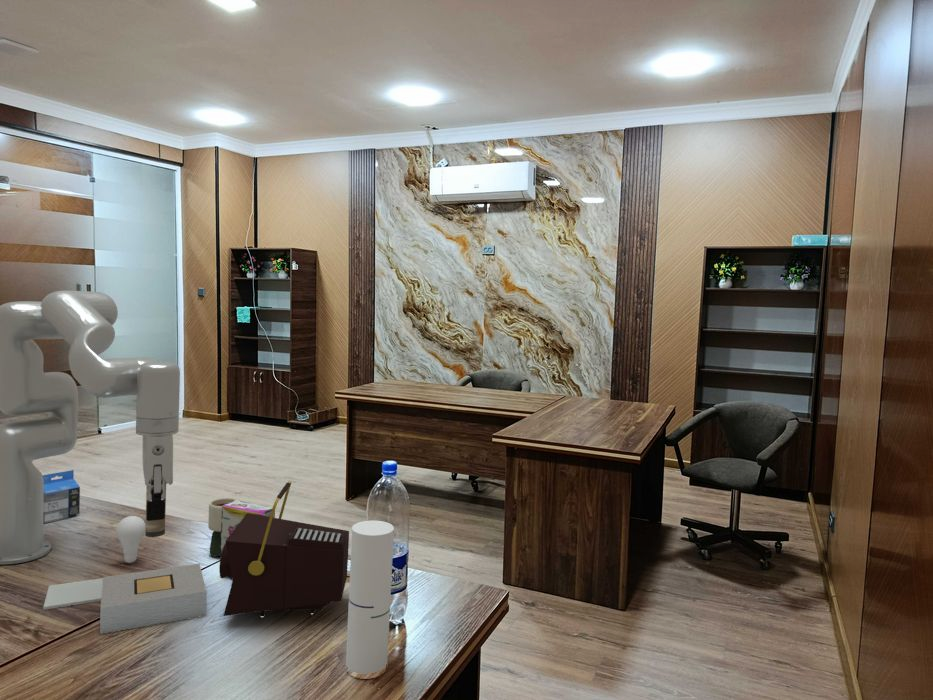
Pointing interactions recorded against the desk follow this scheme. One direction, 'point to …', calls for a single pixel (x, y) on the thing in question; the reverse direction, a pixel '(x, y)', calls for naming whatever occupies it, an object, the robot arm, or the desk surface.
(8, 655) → the desk surface
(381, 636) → the cylindrical container
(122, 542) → the lightbulb
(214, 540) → the character mug
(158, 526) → the beige cylinder
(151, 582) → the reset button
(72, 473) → the ink cartridge box
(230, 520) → the candy bar box
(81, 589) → the mat
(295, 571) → the dark brown boxy piece
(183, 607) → the breaker box
